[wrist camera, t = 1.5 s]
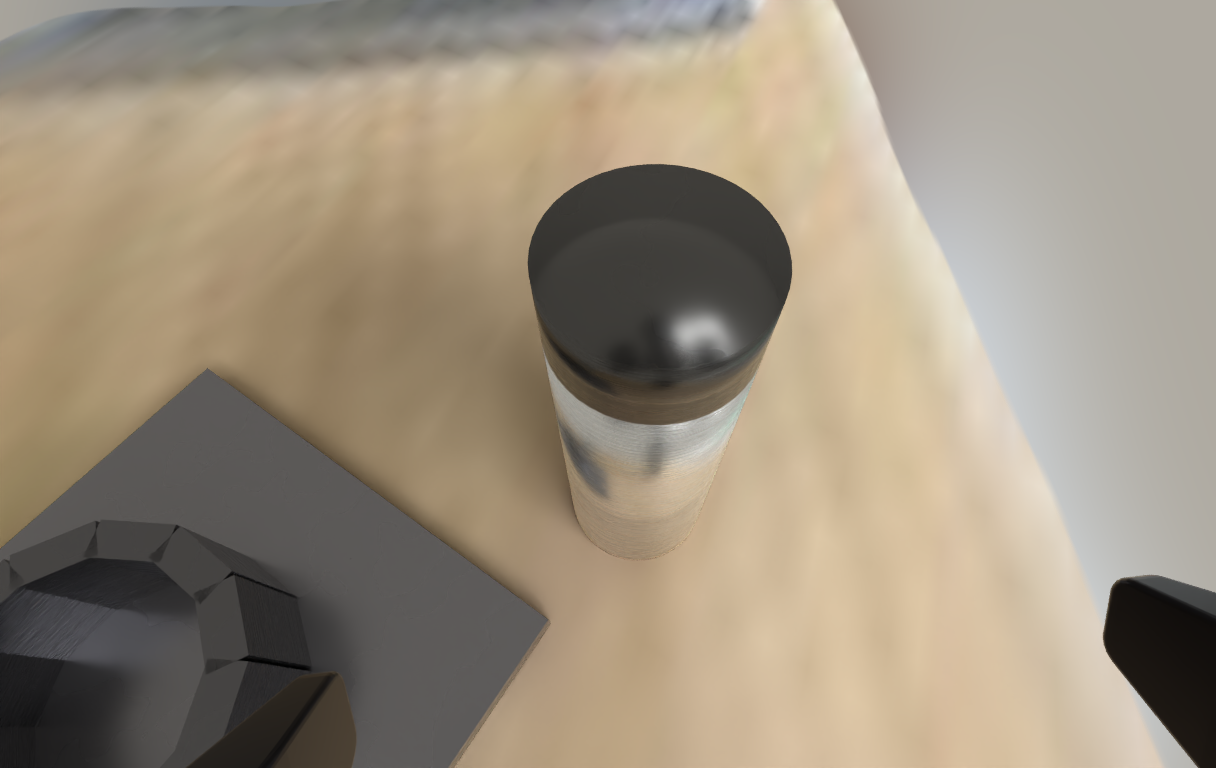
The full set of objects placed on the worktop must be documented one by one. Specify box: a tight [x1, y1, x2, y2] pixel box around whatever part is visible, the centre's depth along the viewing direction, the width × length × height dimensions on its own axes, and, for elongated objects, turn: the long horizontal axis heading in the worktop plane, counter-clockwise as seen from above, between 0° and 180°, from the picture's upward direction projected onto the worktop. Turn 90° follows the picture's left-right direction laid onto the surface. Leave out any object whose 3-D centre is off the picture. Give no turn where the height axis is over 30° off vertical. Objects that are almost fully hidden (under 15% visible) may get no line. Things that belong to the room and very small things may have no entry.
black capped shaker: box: [528, 164, 792, 560], centre depth 16 cm, size 4×4×12 cm
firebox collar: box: [0, 368, 551, 768], centre depth 16 cm, size 16×16×4 cm
